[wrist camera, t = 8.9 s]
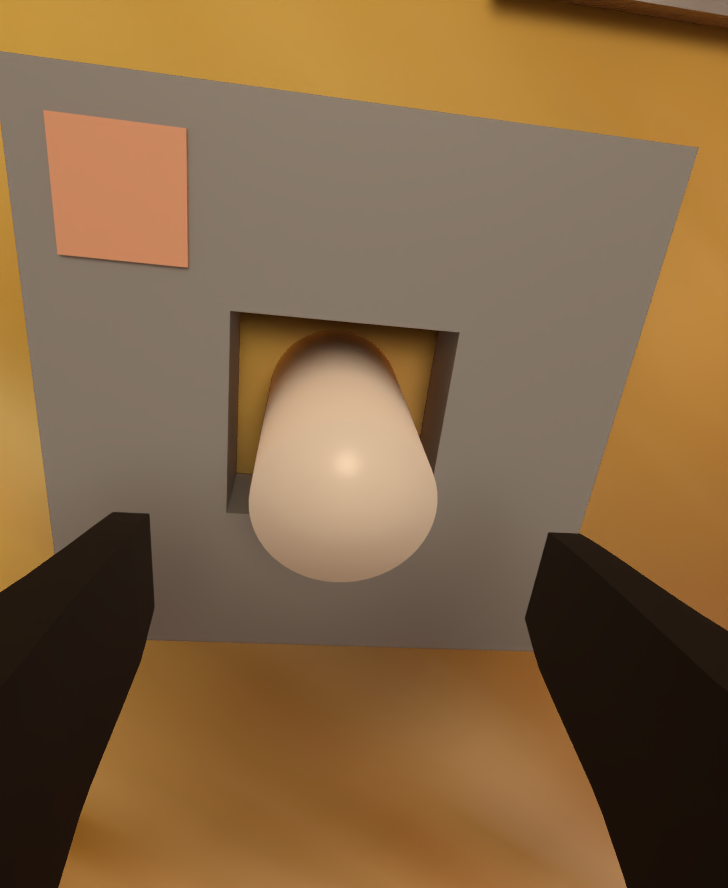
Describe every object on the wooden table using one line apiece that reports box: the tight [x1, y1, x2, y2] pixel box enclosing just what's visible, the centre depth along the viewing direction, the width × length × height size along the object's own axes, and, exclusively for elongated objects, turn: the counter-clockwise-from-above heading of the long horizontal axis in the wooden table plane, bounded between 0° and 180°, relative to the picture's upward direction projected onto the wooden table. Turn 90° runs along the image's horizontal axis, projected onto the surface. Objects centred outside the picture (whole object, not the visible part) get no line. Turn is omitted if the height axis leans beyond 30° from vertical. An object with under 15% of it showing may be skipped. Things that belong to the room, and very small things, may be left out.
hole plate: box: [0, 51, 698, 652], centre depth 18 cm, size 16×16×3 cm
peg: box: [249, 330, 438, 582], centre depth 16 cm, size 4×4×7 cm
